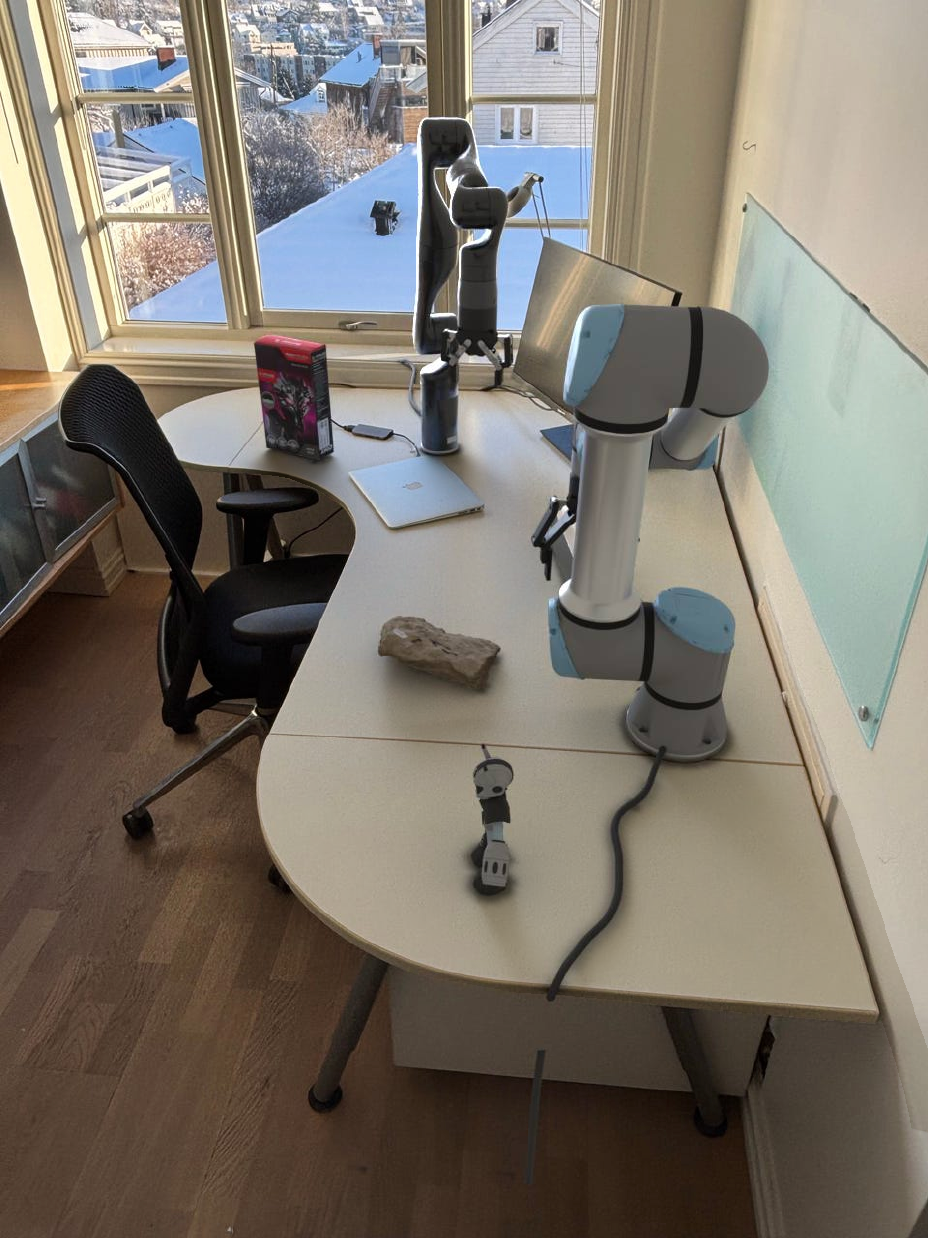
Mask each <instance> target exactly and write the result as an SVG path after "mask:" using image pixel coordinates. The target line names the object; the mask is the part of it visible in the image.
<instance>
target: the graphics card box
mask: <svg viewBox="0 0 928 1238" xmlns="http://www.w3.org/2000/svg"><path fill="white" fill-rule="evenodd" d="M253 346H254V347H253V349H254V355H255V362H256V370H257V371H256V372H257V379H258V388H259V397H260V405H261V415H262V423H263V431H264V439H265V448H266V449H270V450H274V451H279V452H281V453H282V452H283V453H287V454H292V455H295V456H300V457H303V458H308V459H312V460H317V461H320V460H323V459H324V458H326V457H328V456H330V455H332V454H333V453H334V452H335V448H334V435H333V422H332V421H333V420H332V411H331V410H332V409H331V397H330V384H329V371H328V370H329V368H328V357H327V345H326V343H318V342H313V341H308V340H302V339H297V338H291V337H287V336H282V335H276V334H271V333H269V334H266V335H263V336H261V337H259V338H258V339H256V340H255V341H253Z"/></svg>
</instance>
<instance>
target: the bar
mask: <svg viewBox="0 0 928 1238" xmlns="http://www.w3.org/2000/svg"><path fill="white" fill-rule="evenodd" d="M567 509H568V508H567V506H563V507H562V509H561V511H558V514H557V516H556V518H555V519H554V521H553V523H552V525H551V526H550V529H551V528H552V527H553V526H554V525H555V524H556V523H557V522H558V521H559V520H560V519H561V518H562V517H563V515H564V513H565V512H566V511H567ZM575 529H576V522H575V523H574V524H573V525H571V526H570V527H569V528H568V529H567V530H566V531H565V532H564V533H563V534H562V535H561V536H560V537H559V538H558V539H557V540H556V541H555V542H554V543H553V544H552V545H551V547H552V550H553V553H554V556H555V559H556V561H557V564H558V567H559V570H560V574H561V575H562V578H563V581H564V583H565V582H567V581H568V580H570V579H571V575H572V563H573V552H574V541H575Z"/></svg>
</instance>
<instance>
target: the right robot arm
mask: <svg viewBox="0 0 928 1238" xmlns="http://www.w3.org/2000/svg"><path fill="white" fill-rule="evenodd" d="M769 370H770V364H769V358H768V354H767V351H766V347H765V345H764V343H763V342H762V339H761V338H760V336H759V335H758V334H757V333H756V332H755V330H754V329H753V328H752V327H751V326H750V325H749V324H748V323H747V322H746V321H744V320H743V319H741V318H740V317H739V316H737V315H735V314H733V313H730V312H728V311H726V310H724V309H721V308H720V309H719V308H716V307H712V306H680V305H679V306H678V305H677V306H675V305H674V306H673V305H647V304H624V303H623V302H618V303H616V304H615V303H614V304H594V305H590V306H587V307H585V308H584V309H583V310H582V311H581V312H580V313H579V315H578V317H577V320H576V323H575V326H574V329H573V334H572V337H571V341H570V346H569V351H568V356H567V362H566V370H565V375H564V383H563V395H562V397H563V401H564V403H565V404H566V405H568V406H570V407H573V418H574V420H573V437H572V446H571V448H572V449H571V461H570V473H569V484H568V494H567V496H566V497H558V496H557V495H556V494H553V495H551V496H550V499H549V504H548V507H547V509H546V511H545V512H544V514H543V516H542V518H541V520H540V521H539V523H538V525H537V526H536V528H535V530H534V531H533V533H532V535H531V537H530V540H531V544H532V546H533V547H534V548H539V552H540V553H539V560H540V562H541V564H542V565H544V569H543V570H544V571H543V573H544V577H545V580H546V582H551V581H552V580H551V579H552V569H553V568H552V567H553V565H552V564H553V553H554V550H553V547H552V544H553V543H554V542H555V541H556V540H557V539H558V538H559V537H560V536H561V535H562V534H563V533H564V532H565V531H566V530H567V529H568V528H569V527H570V526H571V525H573V524H574V523H575V522H576V529H575V541H574V552H573V563H572V575H571V579H570V580H568V581H567V582H565V581H564V582H563V584H562V585H561V586H560V589H559V593H558V596H555V597H552V598H549V599H548V601H547V618H548V633H549V634H548V635H549V651H550V661H551V667H552V670H553V671H554V673H555V674H556V675H558V676H560V677H563V678H572V679H578V680H581V681H583V680H585V679H587V680H603V681H604V680H607V681H623V682H625V681H627V682H642V684H641V685H640V686H638V687H637V688H636V690H635V693H636V694H635V695H634V697H633V699H632V701H631V702H630V704H629V706H628V708H627V712H626V719H625V728H626V732H627V734H628V736H629V738H630V739H631V741H632V742H634V744H636V745H637V746H638V747H639V748H640V749H641V750H643V751H645V752H646V753H648V754H650V755H651V756H654V757H655V759H654V761H653V764H652V766H651V769H650V771H649V774H648V776H647V780H646V782H645V784H644V786H643V788H642V789H641V790H640V791H639V792H638V794H636V795H635V796H633V797H632V798H631V799H630V800H628V801H627V802H625V803H624V804H622V805H621V806H620V807H619V808H618V809H617V810H616V812H615V814H614V816H613V818H612V820H611V824H610V835H611V842H612V847H613V852H614V862H615V863H614V866H615V867H614V892H613V896H612V900H611V903H610V905H609V907H608V909H607V911H606V912H605V914H604V915H603V916H602V918H601V919H599V921H597V923H596V924H595V925H593V927H591V928H590V929H589V930H588V931H586V933H585V935H583V936H582V937H581V939H580V940H578V942H577V943H576V945H575V946H574V947H573V949H572V950H571V951H570V953H568V955H567V956H566V957H565V959H564V960H563V961H562V963H561V965H560V966H559V968H558V970H557V972H556V973H555V975H554V977H553V979H552V981H551V984H550V986H549V988H548V991H547V994H546V997H545V998H546V1001H547V1002H549V1003H551V1002H554V1001H555V999H556V997H557V994H558V992H559V990H560V987H561V985H562V982H563V980H564V978H565V977H566V974H567V973H568V971H569V970H570V968H571V967H572V966H573V964H574V963H575V962H576V961H577V959H578V958H579V957H580V956H581V954H582V952H584V950H585V948H587V947H588V945H589V944H590V943H591V942H592V941H593V940H594V939H595V938H596V937H597V936H598V935H599V934H600V933H601V932H602V931H603V930H604V929H605V928H607V926H608V925H609V924H610V922H612V920H613V918H614V916H615V915H616V913H617V912H618V909H619V908H620V907H619V906H620V903H621V900H622V896H623V890H624V855H623V848H622V845H621V844H622V843H621V840H620V835H619V827H620V826H619V825H620V822H621V820H622V818H623V817H624V816H625V814H626V813H627V812H628V811H630V810H631V809H633V808H634V807H635V806H638V804H640V803H641V802H642V801H643V800H645V798H646V797H647V796H648V795H649V793H650V792H651V789H652V787H653V785H654V784H655V781H656V777H657V775H658V771H659V769H660V767H661V765H662V761H663V760H666V761H670V762H675V763H694V762H700V761H703V760H706V759H709V758H711V757H714V755H716V754H718V752H720V751H721V750H722V748H723V747H724V744H725V743H726V740H727V739H726V738H727V733H728V721H727V716H726V712H725V708H724V707H725V706H724V701H723V692H724V686H725V682H726V678H727V672H728V668H729V664H730V659H731V654H732V651H733V649H734V646H735V632H736V620H735V617H734V614H733V612H732V611H731V609H730V608H729V607H728V606H727V605H726V604H725V603H724V602H723V601H722V600H720V599H718V598H717V597H715V596H714V595H712V594H710V593H708V592H705V591H702V590H699V589H696V588H691V587H687V586H685V587H684V586H674V587H673V586H672V587H669V588H667V589H664V590H662V591H660V592H659V593H658V594H657V596H656V597H655V598H654V600H653V601H652V602H651V601H642V596H641V593H640V591H639V590H638V589H637V588H636V587H635V586H634V585H633V584H634V577H635V569H636V561H637V555H638V548H639V547H638V546H639V543H640V542H641V538H640V534H641V533H640V532H641V525H642V517H643V510H644V503H645V496H646V489H647V482H648V473H649V469H661V470H681V471H687V472H693V471H706V470H710V469H711V468H713V466H714V465H715V462H716V459H717V456H718V448H719V434H720V433H721V432H722V430H724V428H725V427H726V426H727V425H728V423H729V422H730V421H731V420H732V419H733V418H735V417H738V416H740V415H742V414H744V413H746V412H747V411H748V410H749V409H751V408H752V407H753V406H754V405H755V403H756V402H757V401H758V400H759V398H760V397H761V396H762V395H763V393H764V390H765V388H766V385H767V383H768V379H769ZM670 409H672V411H671V412H670ZM669 413H670V414H669ZM563 506H567V508H568V509H567V511H566V512H565V513H564V515H563V517H562V518H561V519H560V520H559V521H558V522H557V523H556V524H555V525H554V526H553V527H552V528H551V525H552V523H553V521H554V519H555V518H556V516H557V514H558V511H561V509H562V507H563ZM546 1052H547V1050H546V1049H538V1050H537V1051H536V1058H535V1063H534V1064H535V1065H534V1072H533V1080H532V1089H531V1099H530V1109H529V1110H530V1111H529V1123H528V1135H527V1148H526V1149H527V1150H526V1160H525V1161H526V1162H525V1172H524V1181H523V1183H524V1186H526V1187H530V1186H532V1182H533V1174H534V1173H533V1172H534V1164H535V1154H536V1141H537V1129H538V1119H539V1109H540V1099H541V1089H542V1081H543V1073H544V1067H545V1060H546V1059H545V1058H546Z"/></svg>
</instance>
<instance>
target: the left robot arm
mask: <svg viewBox="0 0 928 1238" xmlns="http://www.w3.org/2000/svg"><path fill="white" fill-rule="evenodd" d="M417 162H418V163H417V164H418V166H417V167H418V194H419V195H418V214H417V215H418V216H417V235H416V292H415V303H414V304H415V305H414V314H413V324H412V342H413V348H414V351H415V352H416V354H417V355H419V356H427V357H428V356H439V358H437V359H436V360H435V361H434V362H432V363H429V364H427V365H426V366H424V367H422V369H421V371H420V373H419V381H420V384H419V385H420V408H419V407H418V405H416V403H415V400H414V398H413V388H414V383H415V378H416V373H417V372H416V371H417V370H416V367H415V365H413V363H412V362H411V361H410V360H409V359H407V358H402V359H400V361H399V363H400V364H403V363H406V364H407V365H408V366H409V368H411V370H412V372H411V373H412V374H411V379H410V381H409V388H408V398H409V399H408V400H409V401H410V404H411V406H412V407H413V409H414V410H415V411H416V412H417V413H418V414H419V415H420V431H421V432H420V436H421V437H420V439H421V442H420V449H421V450H422V451H423V452H424V453H426V454H429V455H430V454H431V455H435V456H440V455H441V456H444V455H449V454H453V453H455V452H457V451H458V450H459V382H460V359H461V358H462V356H463V355H464V354H466V355H467V356H470V357H473V356H477V357H478V358H480V357H481V358H483V357H486V359H488V361H489V362H490V363H491V364H492V365H493V367H494V368H495V369H494V378H493V379H494V382H493V384H494V385H493V387H494V389H499V388H500V386H502V384H503V382H504V369H509V368H511V366H512V365H513V363H514V336H513V334H512V333H508V334H505V335H502V334H499V333H498V330H497V329H498V328H497V326H498V324H497V323H498V297H499V296H498V294H499V293H498V292H499V291H498V281H497V280H498V278H497V277H498V255H499V248H500V244H501V240H502V235H503V233H504V230H505V226H506V222H507V219H508V215H509V210H510V208H509V207H510V206H509V205H510V204H509V198H508V196H507V194H506V192H505V191H504V189H503V188H501V187H498V186H490V185H489V182H488V180H487V178H486V176H485V173H484V172H483V170H482V167H481V165H480V159H479V152H478V148H477V143H476V137H475V133H474V130H473V127H472V125H471V123H470V122H469V121H468V120H467V119H466V118H465V119H464V118H460V117H425V118H423V119H422V120H421V122H420V124H419V127H418V133H417ZM436 170H447V173H446V183H447V188H448V190H449V192H450V195H451V198H450V204H449V208H448V206H447V205H446V203H445V200H444V198H443V197H442V195H441V192H440V190H439V188H438V185H437V182H436V175H435V172H436ZM460 230H461V231H485V232H484V234H483V235H482V237H480V238H479V239H477V240H474V241H470V242H468V243H465V244H463V245H462V246H461V247H460V235H461V234H460ZM458 262H459V265H458ZM457 266H459V267H458V268H459V270H458V272H459V273H458V277H459V278H458V286H457V296H456V298H457V299H456V300H457V315H456V314H455V313H453V312H444V313H432V311H433V308H434V304H435V302H436V301H437V298H438V295H439V294H440V292H441V291H442V290H443V288H444V286H445V285H446V284H447V282H448V281H449V280H450V278H451V276H452V275H453V274H454V271H455V270H456V268H457ZM498 342H499V343H500V346H501V347H502V348H503V356H504V357H503V358H502V356H501V355H500V353H499V351H498V349H497V348H496V344H497V343H498ZM402 360H403V361H402ZM404 361H405V362H404Z"/></svg>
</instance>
